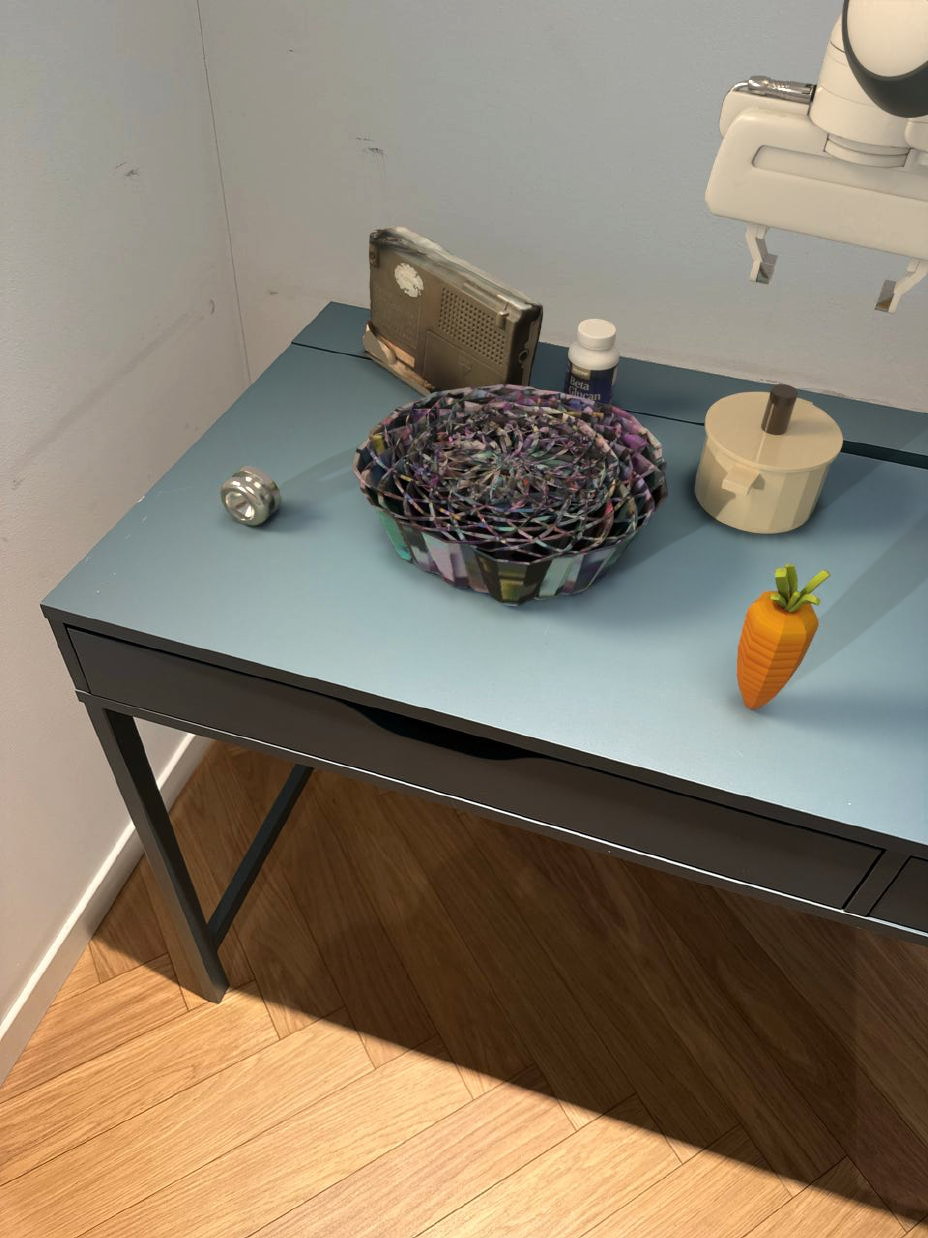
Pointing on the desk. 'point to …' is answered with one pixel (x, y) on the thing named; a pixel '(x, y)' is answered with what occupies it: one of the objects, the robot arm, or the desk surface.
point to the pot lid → (774, 431)
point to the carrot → (776, 636)
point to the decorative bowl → (512, 487)
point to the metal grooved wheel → (250, 495)
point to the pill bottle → (593, 362)
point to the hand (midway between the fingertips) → (821, 294)
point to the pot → (755, 493)
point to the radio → (445, 317)
